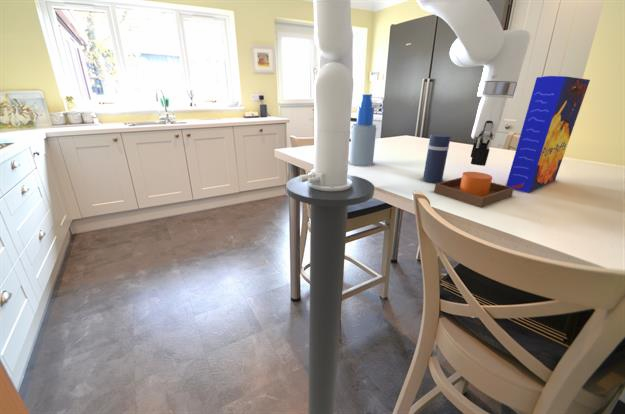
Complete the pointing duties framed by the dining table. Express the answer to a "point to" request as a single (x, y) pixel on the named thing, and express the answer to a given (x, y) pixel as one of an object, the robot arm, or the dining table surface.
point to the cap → (476, 183)
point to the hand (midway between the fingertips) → (477, 161)
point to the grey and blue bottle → (363, 134)
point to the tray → (494, 194)
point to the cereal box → (546, 131)
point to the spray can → (436, 158)
